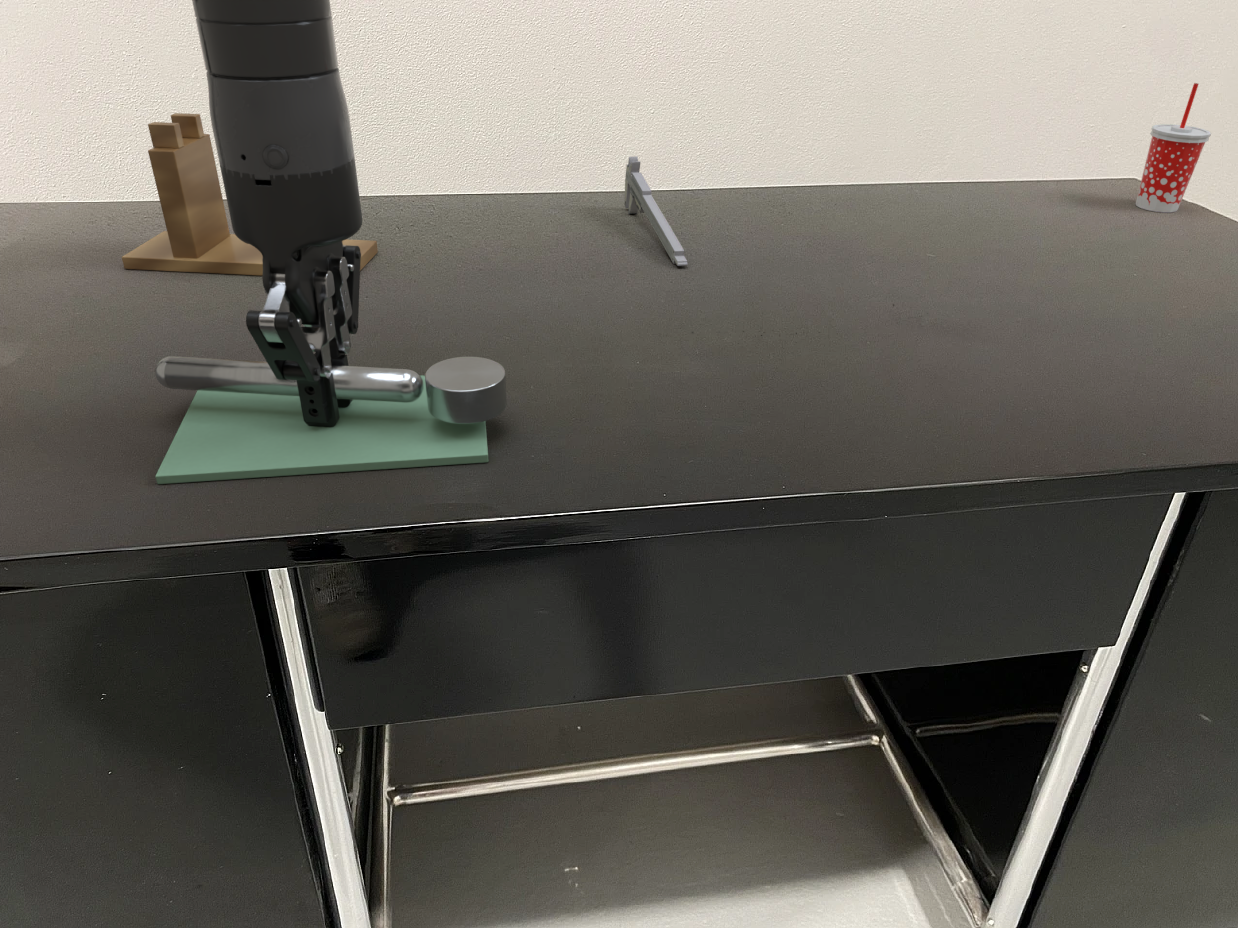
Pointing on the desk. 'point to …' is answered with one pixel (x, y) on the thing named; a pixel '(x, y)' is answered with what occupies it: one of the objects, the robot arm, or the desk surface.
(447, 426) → the mat
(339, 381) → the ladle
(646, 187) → the caliper
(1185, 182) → the beverage cup
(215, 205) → the rack
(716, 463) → the desk surface
